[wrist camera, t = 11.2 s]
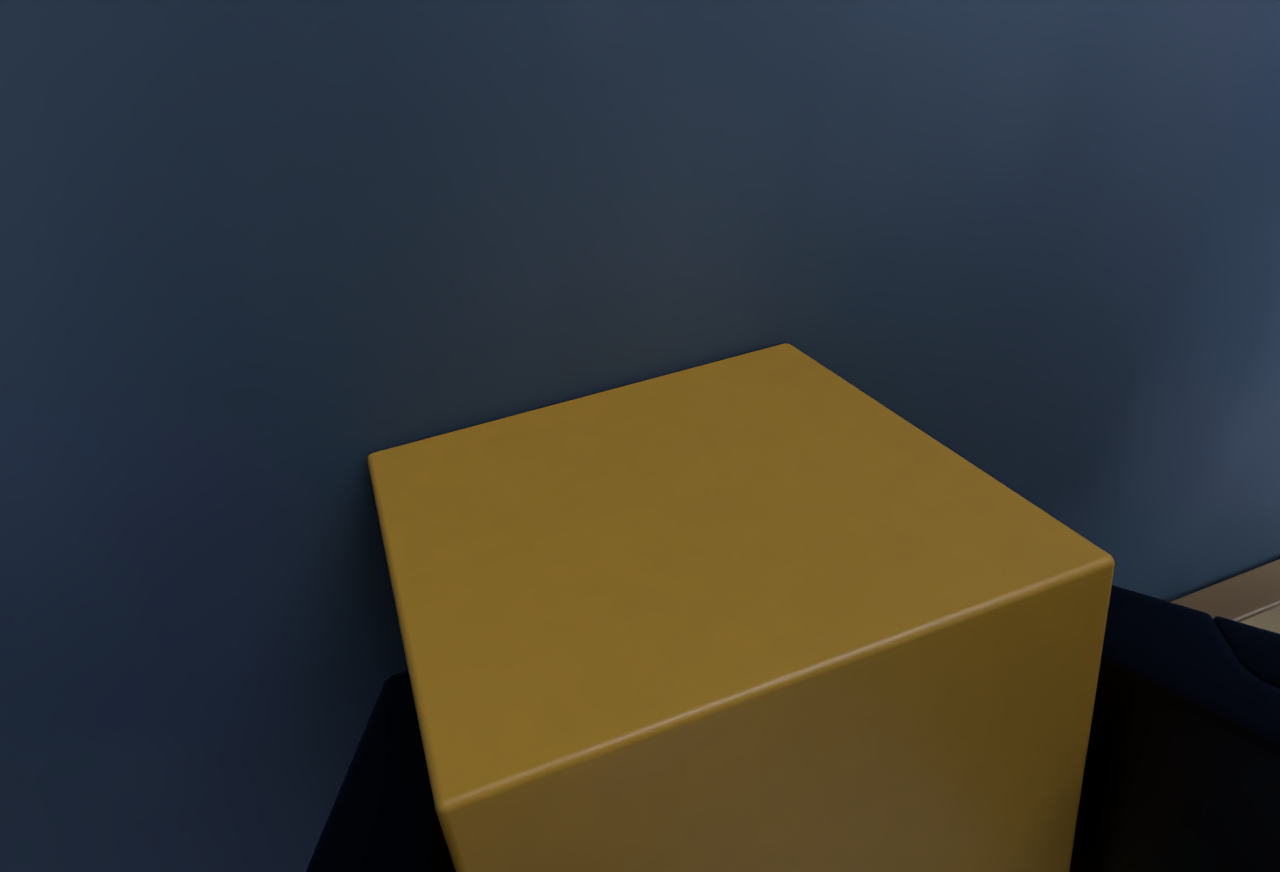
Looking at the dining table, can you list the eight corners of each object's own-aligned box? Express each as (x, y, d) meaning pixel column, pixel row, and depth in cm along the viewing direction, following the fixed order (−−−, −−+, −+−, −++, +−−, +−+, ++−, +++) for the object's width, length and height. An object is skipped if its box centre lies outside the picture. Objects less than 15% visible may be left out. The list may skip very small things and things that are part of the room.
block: (365, 451, 9) (434, 809, 5) (788, 339, 10) (1120, 556, 6) (466, 783, 11) (571, 1217, 7) (804, 659, 12) (1056, 973, 8)
